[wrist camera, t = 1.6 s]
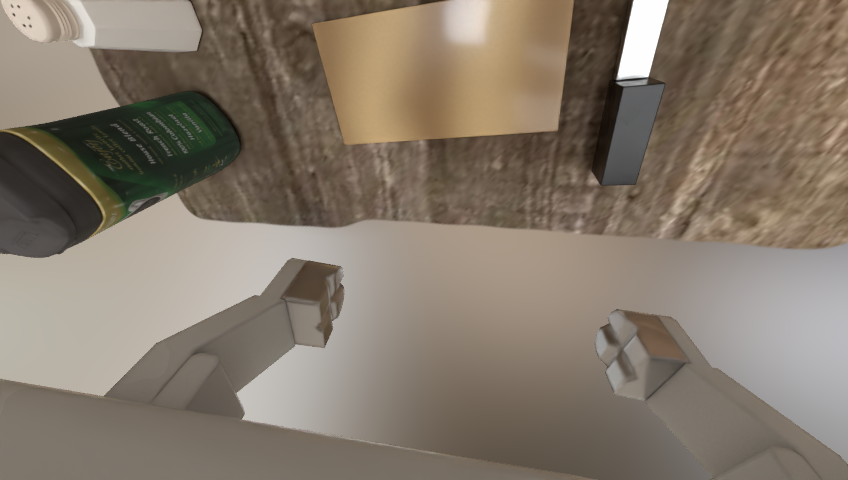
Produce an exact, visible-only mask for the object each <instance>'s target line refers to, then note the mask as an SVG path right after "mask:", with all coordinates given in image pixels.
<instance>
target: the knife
mask: <svg viewBox="0 0 848 480" xmlns="http://www.w3.org/2000/svg"><path fill="white" fill-rule="evenodd" d="M668 3H669V0H629V4H628V9H627V14H626V19H625V24H624V28H623V33H622V38H621V43H620V48H619V53H618V57H617V62H616V67H615V72H614V77H613V80H610V82H609V87H608V92H607V97H606V102H605V107H604V112H603V117H602V122H601V127H600V132H599V136H598V141H597V146H596V151H595V156H594V161H593V166H592V172H593V174H594V175H595V177H596V179H597V180H598V182H599V183H600V185H601V186H604V185H635V184H636V181H637V178H638V175H639V171H640V168H641V165H642V161H643V158H644V155H645V151H646V148H647V145H648V141H649V138H650V134H651V131H652V128H653V124H654V121H655V118H656V114H657V111H658V108H659V104H660V101H661V98H662V94H663V91H664V87H665V83H664V82H661V81H658V80H655V79H653V78H650V77H649V74H650V70H651V66H652V63H653V59H654V55H655V51H656V48H657V44H658V40H659V36H660V33H661V29H662V25H663V21H664V18H665V14H666V10H667V6H668Z"/></svg>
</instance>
